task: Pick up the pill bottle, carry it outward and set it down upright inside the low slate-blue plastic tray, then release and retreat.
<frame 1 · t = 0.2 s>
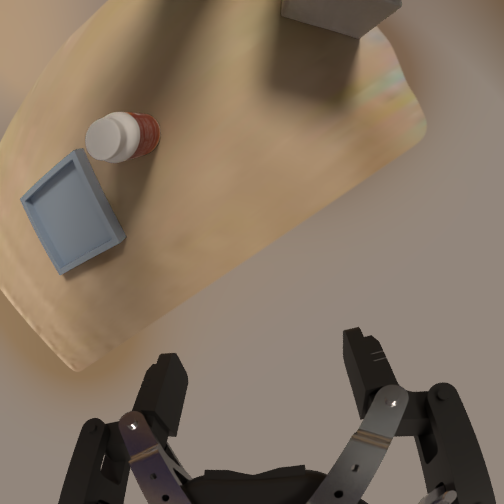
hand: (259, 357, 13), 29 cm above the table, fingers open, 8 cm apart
planter: (304, 5, 26), on the table
pill bottle: (141, 134, 35), on the table
tray: (71, 213, 39), on the table
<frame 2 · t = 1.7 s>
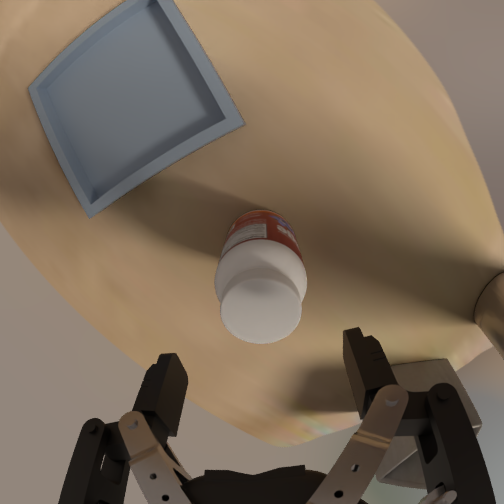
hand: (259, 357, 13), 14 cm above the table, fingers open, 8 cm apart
planter: (397, 376, 34), on the table
pill bottle: (260, 239, 26), on the table
tray: (125, 96, 20), on the table
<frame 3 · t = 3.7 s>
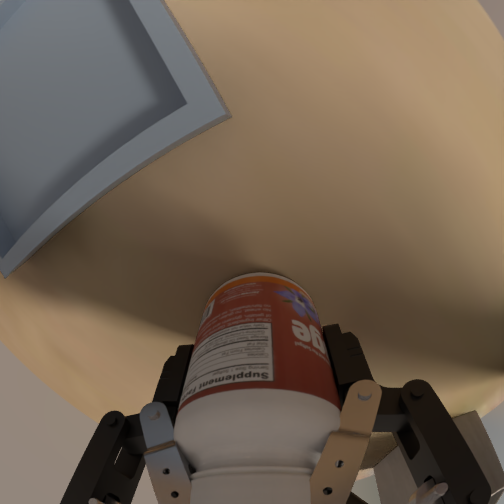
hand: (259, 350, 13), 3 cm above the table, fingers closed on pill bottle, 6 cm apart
planter: (420, 435, 24), on the table
pill bottle: (259, 314, 16), on the table, touching gripper
tray: (40, 85, 10), on the table
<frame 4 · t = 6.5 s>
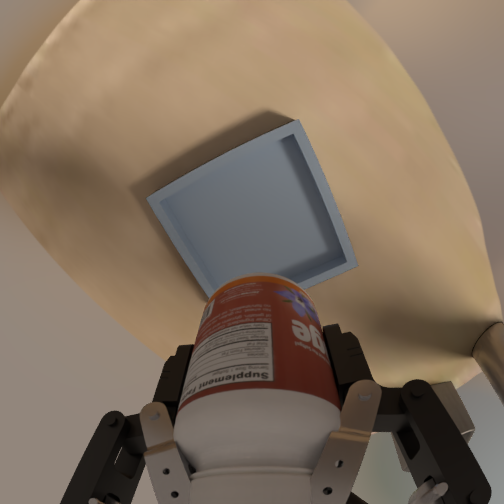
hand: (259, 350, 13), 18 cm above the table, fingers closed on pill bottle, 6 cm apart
planter: (415, 395, 44), on the table
pill bottle: (259, 314, 16), point 15 cm above the table, touching gripper
tray: (257, 223, 29), on the table
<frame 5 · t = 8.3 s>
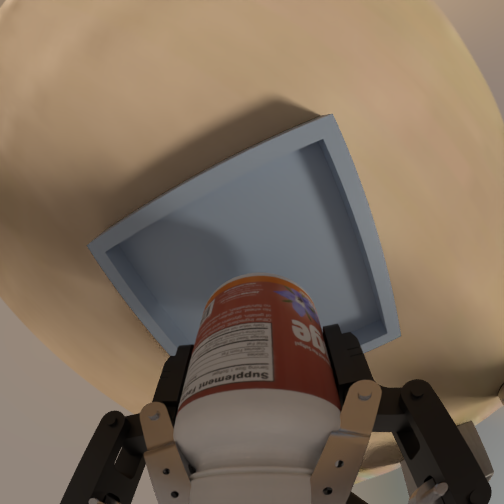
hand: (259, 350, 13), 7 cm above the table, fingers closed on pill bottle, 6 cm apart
planter: (434, 438, 34), on the table
pill bottle: (259, 314, 16), point 4 cm above the table, touching gripper
tray: (258, 279, 19), on the table
when the fingers open (4 cm above the table, at t = 9.8 s): pill bottle stays where it is, resting on tray.
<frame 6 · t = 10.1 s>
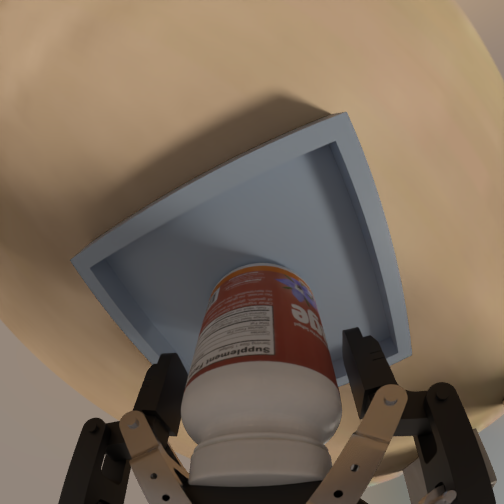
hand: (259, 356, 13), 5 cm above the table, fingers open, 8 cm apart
planter: (437, 447, 32), on the table
pill bottle: (261, 303, 17), point 1 cm above the table, touching tray
tray: (259, 297, 17), on the table
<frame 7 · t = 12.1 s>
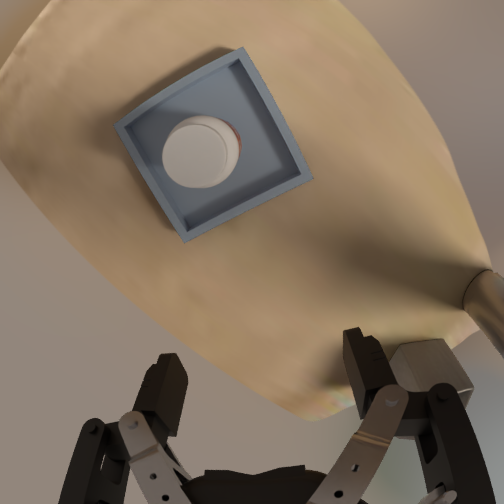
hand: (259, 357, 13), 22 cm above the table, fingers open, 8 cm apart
planter: (405, 353, 45), on the table
pill bottle: (213, 145, 29), point 1 cm above the table, touching tray
tray: (212, 144, 29), on the table
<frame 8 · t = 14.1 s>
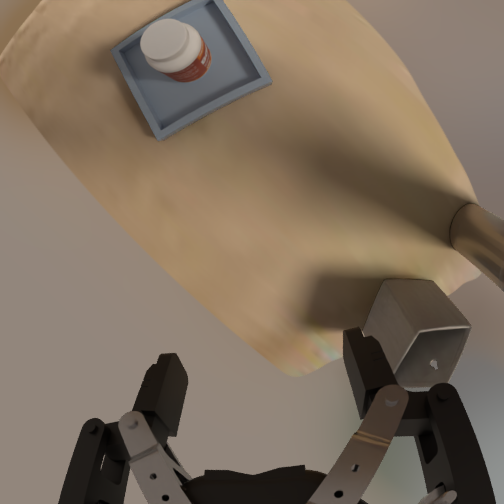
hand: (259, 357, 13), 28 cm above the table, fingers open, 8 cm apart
planter: (392, 294, 44), on the table
pill bottle: (189, 62, 29), point 1 cm above the table, touching tray
tray: (189, 63, 30), on the table
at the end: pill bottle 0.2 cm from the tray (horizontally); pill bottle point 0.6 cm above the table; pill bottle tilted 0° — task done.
